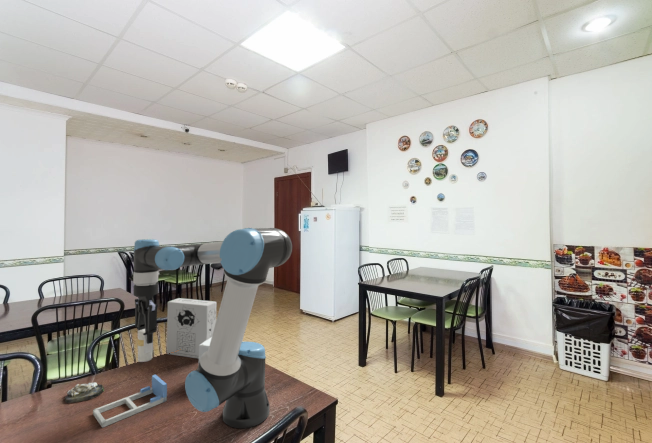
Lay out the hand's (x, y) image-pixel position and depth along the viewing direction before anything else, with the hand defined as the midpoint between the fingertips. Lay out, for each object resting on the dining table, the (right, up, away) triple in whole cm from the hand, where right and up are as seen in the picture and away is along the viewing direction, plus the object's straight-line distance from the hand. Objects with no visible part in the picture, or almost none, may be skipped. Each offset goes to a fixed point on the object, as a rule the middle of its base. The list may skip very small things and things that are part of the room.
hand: (145, 349), depth 108 cm
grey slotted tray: (-3, -18, -3) cm, 19 cm away
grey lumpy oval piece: (-24, -19, +4) cm, 31 cm away
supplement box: (+18, -19, +17) cm, 31 cm away
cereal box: (-1, -19, +40) cm, 44 cm away
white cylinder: (0, -3, 0) cm, 3 cm away
